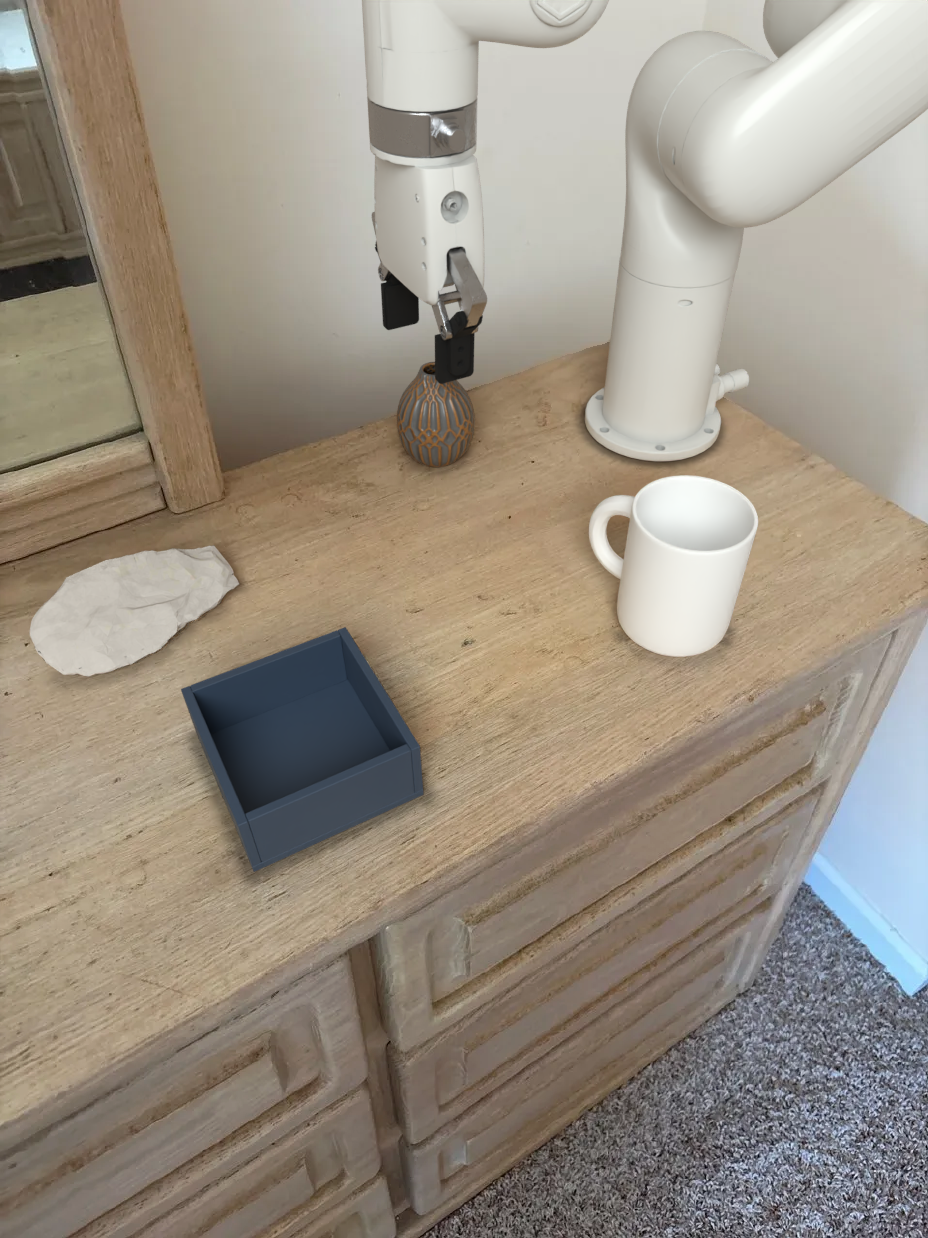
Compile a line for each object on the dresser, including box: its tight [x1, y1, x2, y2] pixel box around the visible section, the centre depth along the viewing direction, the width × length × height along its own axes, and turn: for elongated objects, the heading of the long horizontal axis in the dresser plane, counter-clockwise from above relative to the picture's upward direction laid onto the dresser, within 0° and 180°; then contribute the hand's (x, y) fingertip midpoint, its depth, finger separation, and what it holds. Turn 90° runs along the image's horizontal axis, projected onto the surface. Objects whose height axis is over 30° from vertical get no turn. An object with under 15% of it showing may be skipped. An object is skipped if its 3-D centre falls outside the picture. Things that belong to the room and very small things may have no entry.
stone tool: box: [29, 544, 240, 677], centre depth 67 cm, size 9×3×15 cm
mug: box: [588, 474, 759, 658], centre depth 65 cm, size 12×8×10 cm
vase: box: [396, 361, 476, 468], centre depth 79 cm, size 7×7×9 cm
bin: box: [180, 627, 425, 873], centre depth 57 cm, size 11×11×5 cm
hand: (426, 350), depth 75 cm, fingers open, 9 cm apart
